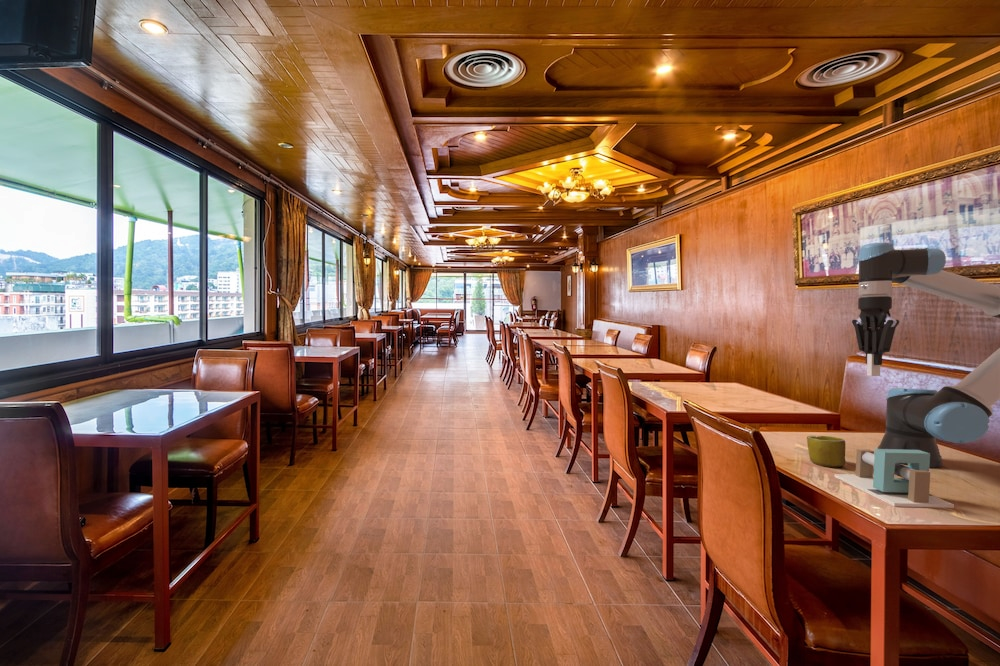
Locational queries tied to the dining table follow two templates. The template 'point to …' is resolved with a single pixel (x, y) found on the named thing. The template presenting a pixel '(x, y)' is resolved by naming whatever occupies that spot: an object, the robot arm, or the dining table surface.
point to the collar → (886, 466)
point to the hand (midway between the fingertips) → (873, 375)
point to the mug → (826, 450)
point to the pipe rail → (913, 498)
